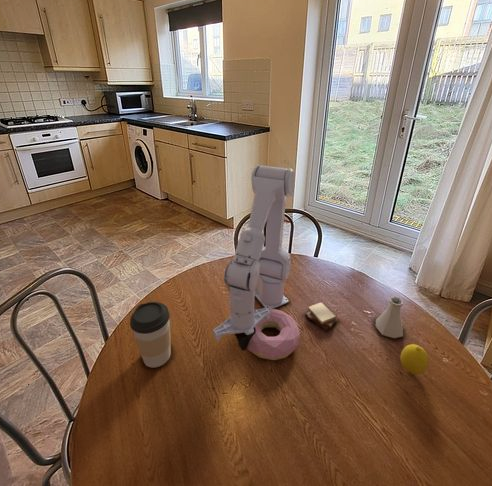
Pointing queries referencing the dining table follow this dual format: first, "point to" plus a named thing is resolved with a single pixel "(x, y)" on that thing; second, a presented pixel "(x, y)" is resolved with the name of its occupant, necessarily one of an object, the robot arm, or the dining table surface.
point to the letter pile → (321, 316)
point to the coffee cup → (152, 333)
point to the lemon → (414, 359)
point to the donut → (275, 345)
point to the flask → (391, 319)
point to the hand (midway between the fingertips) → (242, 347)
